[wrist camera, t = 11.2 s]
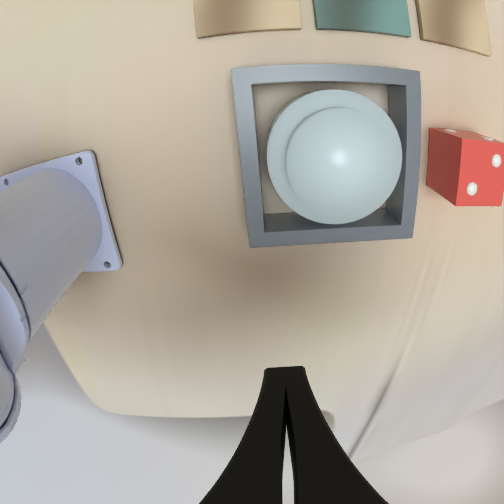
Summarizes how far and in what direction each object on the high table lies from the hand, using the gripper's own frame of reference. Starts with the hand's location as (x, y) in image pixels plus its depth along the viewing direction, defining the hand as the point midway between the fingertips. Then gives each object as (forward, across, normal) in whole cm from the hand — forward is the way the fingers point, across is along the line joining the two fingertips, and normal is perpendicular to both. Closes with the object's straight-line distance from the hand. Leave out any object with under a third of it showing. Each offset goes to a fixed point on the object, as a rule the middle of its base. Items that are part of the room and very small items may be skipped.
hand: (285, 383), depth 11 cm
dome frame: (+9, -3, -6) cm, 12 cm away
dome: (+10, -3, -6) cm, 12 cm away
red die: (+9, -11, -6) cm, 16 cm away
